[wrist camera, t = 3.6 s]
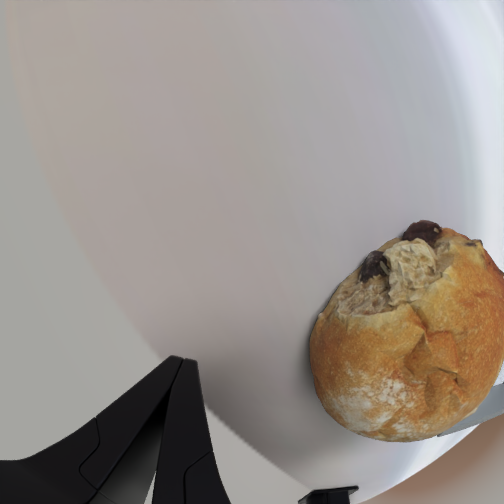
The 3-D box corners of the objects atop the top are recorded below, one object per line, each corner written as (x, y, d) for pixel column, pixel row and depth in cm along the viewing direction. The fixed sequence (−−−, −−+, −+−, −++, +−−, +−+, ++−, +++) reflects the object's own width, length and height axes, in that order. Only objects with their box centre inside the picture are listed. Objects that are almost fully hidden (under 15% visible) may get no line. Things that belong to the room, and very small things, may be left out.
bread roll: (294, 327, 16) (293, 456, 11) (329, 185, 9) (370, 465, 3) (427, 323, 16) (445, 428, 10) (510, 214, 8) (575, 363, 3)
